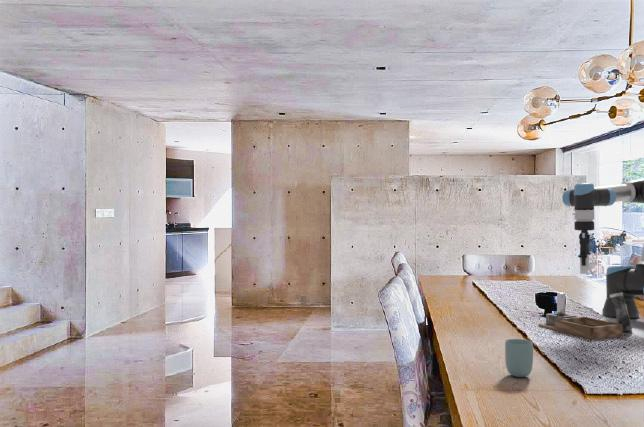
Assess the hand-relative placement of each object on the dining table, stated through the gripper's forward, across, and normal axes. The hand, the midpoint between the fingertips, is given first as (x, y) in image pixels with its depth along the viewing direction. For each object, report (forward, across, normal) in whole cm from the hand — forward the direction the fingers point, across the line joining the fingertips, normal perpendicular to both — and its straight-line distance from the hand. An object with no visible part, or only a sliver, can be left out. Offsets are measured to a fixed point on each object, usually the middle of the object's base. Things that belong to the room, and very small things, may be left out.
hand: (584, 272), depth 246 cm
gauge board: (+23, +8, -2) cm, 24 cm away
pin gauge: (+22, +1, -9) cm, 24 cm away
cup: (+22, +86, -14) cm, 90 cm away
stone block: (+24, -1, +13) cm, 27 cm away
